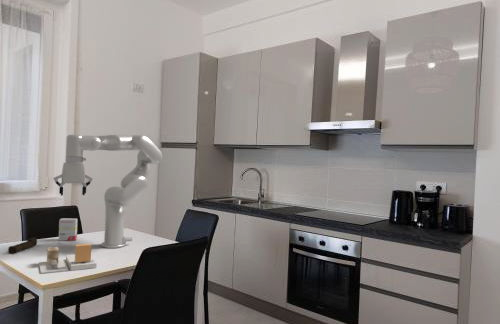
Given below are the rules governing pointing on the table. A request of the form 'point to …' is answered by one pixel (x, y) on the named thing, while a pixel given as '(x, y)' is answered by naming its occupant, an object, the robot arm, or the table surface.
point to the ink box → (67, 229)
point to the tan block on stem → (52, 257)
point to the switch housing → (80, 263)
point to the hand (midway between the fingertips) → (72, 195)
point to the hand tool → (23, 245)
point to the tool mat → (47, 268)
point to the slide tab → (82, 253)
